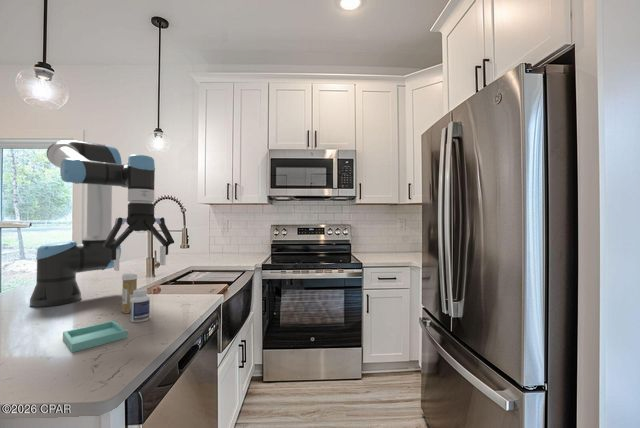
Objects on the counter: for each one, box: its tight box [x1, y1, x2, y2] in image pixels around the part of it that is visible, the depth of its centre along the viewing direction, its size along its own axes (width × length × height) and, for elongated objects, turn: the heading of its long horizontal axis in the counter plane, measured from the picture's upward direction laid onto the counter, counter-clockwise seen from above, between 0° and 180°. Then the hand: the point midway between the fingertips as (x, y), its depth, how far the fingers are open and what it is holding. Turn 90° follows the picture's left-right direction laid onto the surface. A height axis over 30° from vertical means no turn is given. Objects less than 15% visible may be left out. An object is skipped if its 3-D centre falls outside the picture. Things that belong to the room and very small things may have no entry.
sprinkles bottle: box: [121, 272, 138, 314], centre depth 105 cm, size 5×5×14 cm
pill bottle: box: [129, 288, 151, 323], centre depth 97 cm, size 5×5×10 cm
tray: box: [62, 320, 128, 353], centre depth 82 cm, size 12×12×2 cm
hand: (140, 267), depth 97 cm, fingers open, 13 cm apart
